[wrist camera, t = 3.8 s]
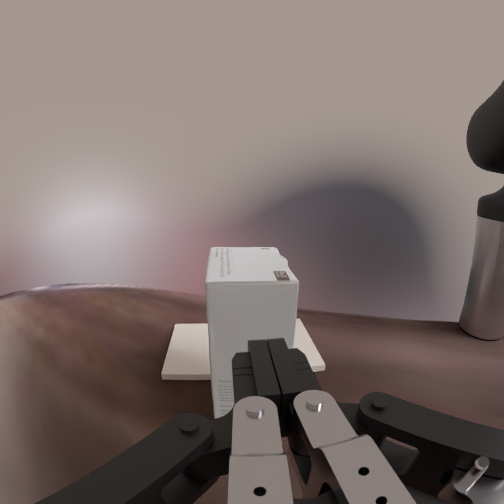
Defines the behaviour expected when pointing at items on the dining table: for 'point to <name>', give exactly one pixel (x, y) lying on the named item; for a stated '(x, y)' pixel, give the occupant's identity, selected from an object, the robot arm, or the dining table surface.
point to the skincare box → (245, 309)
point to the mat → (197, 352)
